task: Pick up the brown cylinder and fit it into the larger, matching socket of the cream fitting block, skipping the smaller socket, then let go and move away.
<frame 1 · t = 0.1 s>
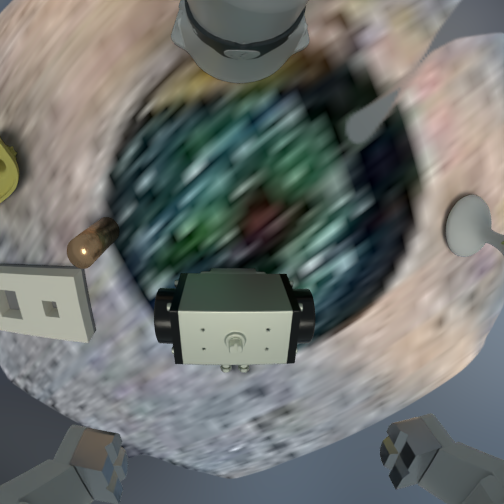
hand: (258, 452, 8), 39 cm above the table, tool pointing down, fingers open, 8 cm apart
flower in vase: (460, 221, 48), on the table
brown cylinder: (107, 230, 44), on the table
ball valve: (232, 281, 49), on the table
fitting block: (38, 296, 47), on the table
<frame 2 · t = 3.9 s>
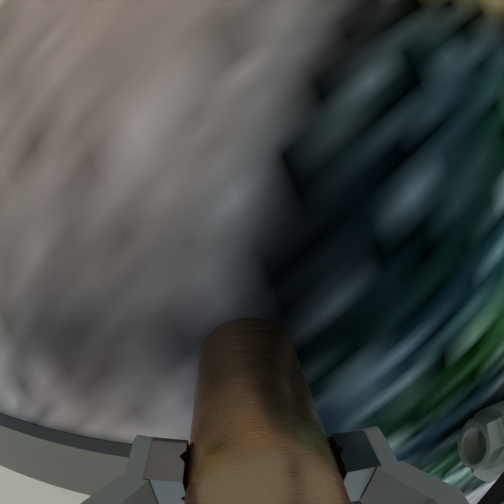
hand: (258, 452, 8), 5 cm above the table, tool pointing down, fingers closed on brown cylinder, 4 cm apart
brown cylinder: (247, 360, 13), on the table, touching gripper
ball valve: (493, 414, 17), on the table
fitting block: (28, 468, 15), on the table
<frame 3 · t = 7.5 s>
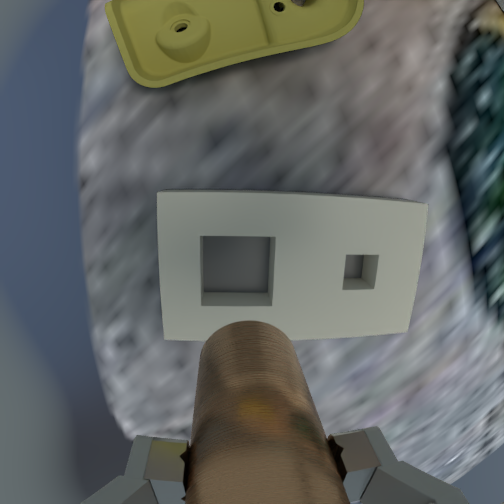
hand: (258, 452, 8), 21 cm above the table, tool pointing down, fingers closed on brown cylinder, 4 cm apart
brown cylinder: (247, 362, 13), point 16 cm above the table, touching gripper
plastic component: (233, 20, 23), on the table
fitting block: (292, 258, 29), on the table
when the fingers open (7 cm above the table, at t = 10.9 s): brown cylinder stays where it is, resting on fitting block.
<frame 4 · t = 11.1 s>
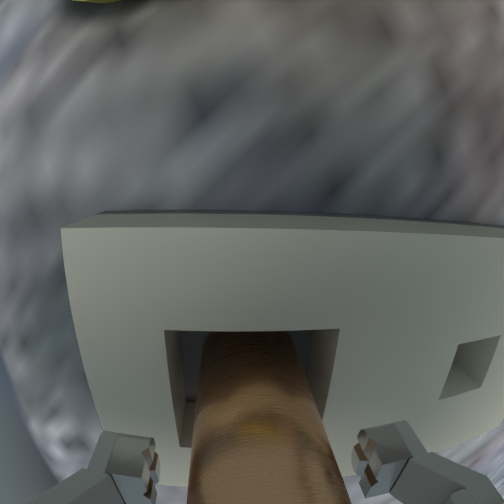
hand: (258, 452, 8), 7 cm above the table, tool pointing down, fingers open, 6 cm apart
brown cylinder: (248, 356, 13), point 1 cm above the table, touching fitting block
fitting block: (348, 339, 15), on the table
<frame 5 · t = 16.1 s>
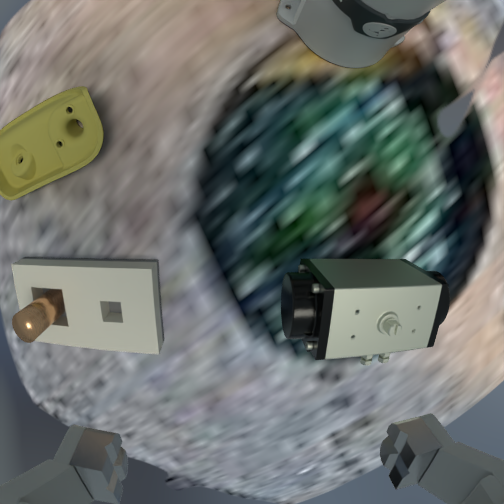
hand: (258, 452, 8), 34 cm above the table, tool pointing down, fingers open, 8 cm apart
brown cylinder: (58, 299, 40), point 1 cm above the table, touching fitting block
plastic component: (54, 143, 36), on the table
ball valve: (335, 275, 44), on the table
fitting block: (89, 298, 42), on the table
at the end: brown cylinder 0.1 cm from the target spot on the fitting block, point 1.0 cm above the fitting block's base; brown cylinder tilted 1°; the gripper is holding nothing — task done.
